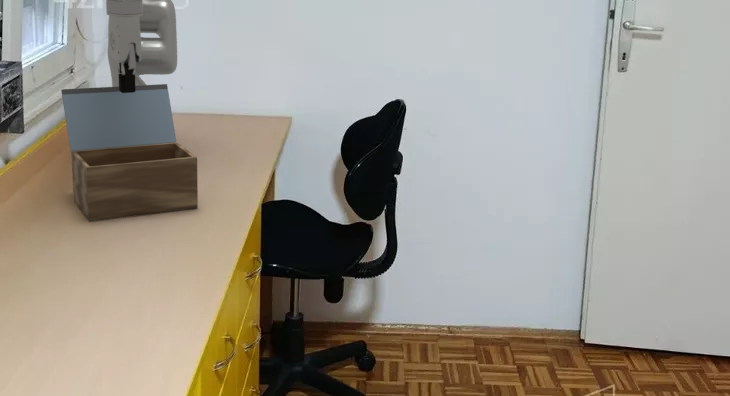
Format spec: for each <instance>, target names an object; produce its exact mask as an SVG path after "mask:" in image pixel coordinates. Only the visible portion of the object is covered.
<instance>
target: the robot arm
mask: <svg viewBox="0 0 730 396" xmlns="http://www.w3.org/2000/svg"><path fill="white" fill-rule="evenodd" d="M105 4H106V5H105V9H106V15H107V16H108V26H107V28H108V29H107V31H108V32H107V34H108V35H107V39H108V40H107V43H108V45H107V59H108V64H109V70H110V77H111V87H119V91H120V92H121V93H133V92H135V91H136V90H135V86H138V85H147V84H146V82H145V81H144V80H143V79H142V78H141V76H143V75H153V76H154V75H155V76H156V75H163V76H164V75H165V76H166V75H171V74H174V73H175V72H176V70H177V67H178V41H177V40H178V37H177V36H178V33H177V14H176V7H175V4H174V2H173V0H105ZM142 34H156V35H157V36H158V37H143V36H141V35H142Z"/></svg>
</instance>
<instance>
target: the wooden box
mask: <svg viewBox="0 0 730 396" xmlns="http://www.w3.org/2000/svg"><path fill="white" fill-rule="evenodd" d="M70 152H71V168H72V170H71V171H72V173H71V174H72V185H73V186H72V191H73V203H74V205H76V207H77V208H78V210H79V211H80V212H81V213H82V214H83V215H84V217H85V218H86V220H87V221H88V222H89V223H90V222H98V221H99V222H100V221H107V220H114V219H115V220H116V219H122V218H133V217H138V216H145V215H147V216H148V215H153V214H154V215H155V214H164V213H169V212H170V213H171V212H179V211H188V210H195V209H198V205H199V203H198V202H199V200H198V197H199V195H198V189H199V188H198V157H197V156H196V155H194V154H193V153H192V152H191V151H190V150H188V149H186V148H185V147H184V146H183V145H181V144H180V143H178V142H174V143H163V144H151V145H139V146H127V147H115V148H103V149H92V150H80V151H70Z"/></svg>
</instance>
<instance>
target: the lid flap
mask: <svg viewBox="0 0 730 396" xmlns="http://www.w3.org/2000/svg"><path fill="white" fill-rule="evenodd" d="M135 90H136V91H135V92H133V93H121V92H120V91H119V87H112V86H104V87H103V86H102V87H101V86H100V87H83V88H65V89H63V88H62V89H61V97H62V104H63V111H64V117H65V123H66V125H65V126H66V130H67V137H68V144H69V149H70V152H71V151H80V150H92V149H103V148H115V147H127V146H139V145H151V144H163V143H174V142H177V136H176V132H175V131H176V130H175V125H174V118H173V113H172V106H171V100H170V94H169V88H168V84H167V83H166V84H165V83H163V84H162V83H160V84H146V85H138V86H135ZM177 143H178V142H177Z"/></svg>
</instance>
